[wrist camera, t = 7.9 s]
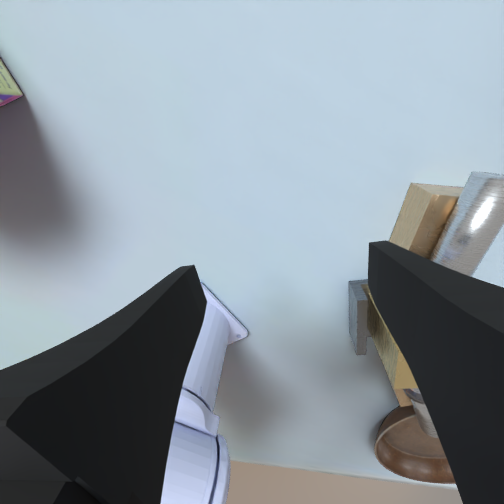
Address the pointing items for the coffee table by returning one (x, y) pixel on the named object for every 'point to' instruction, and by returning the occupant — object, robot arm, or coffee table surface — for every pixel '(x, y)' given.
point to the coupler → (389, 350)
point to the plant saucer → (411, 449)
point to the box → (7, 86)
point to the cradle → (359, 314)
